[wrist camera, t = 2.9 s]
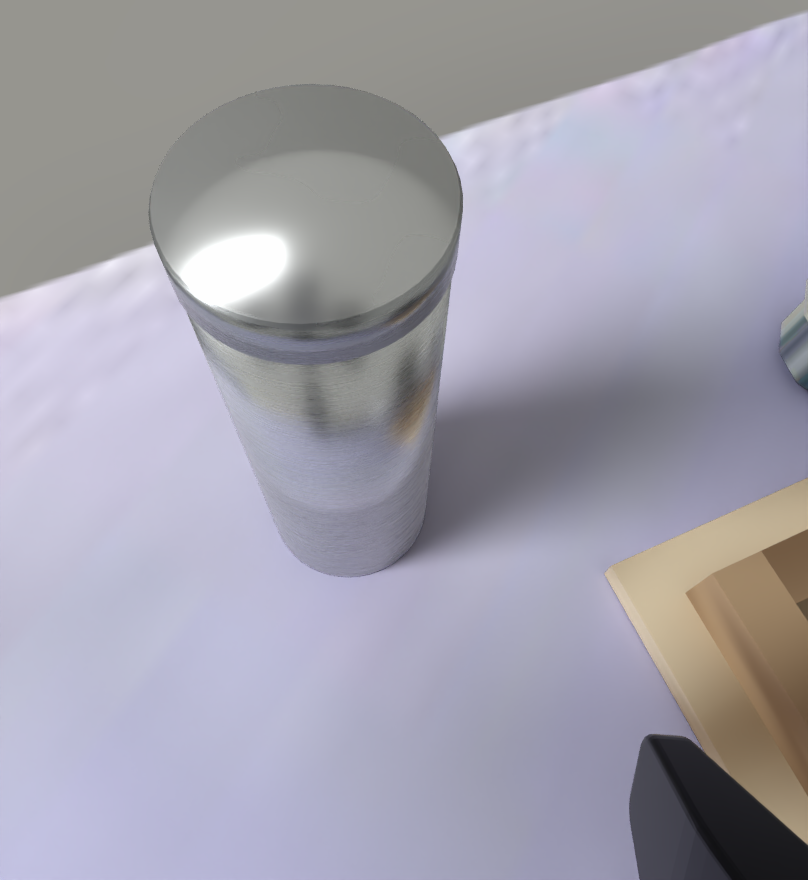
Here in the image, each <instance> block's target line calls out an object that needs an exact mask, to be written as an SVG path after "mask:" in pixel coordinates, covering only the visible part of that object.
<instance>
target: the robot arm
mask: <svg viewBox="0 0 808 880" xmlns="http://www.w3.org/2000/svg"><path fill="white" fill-rule="evenodd" d="M629 814H630V824H631V831H632V837H633V843H634V849H635V855H636V861H637V867H638V873H639V879H640V880H808V845H807V844H806V843H805V842H804V841H803V840H802V839H801V838H799V837H798V836H797V835H796V834H795V833H794V832H793V831H792V830H791V829H789V828H788V827H787V826H786V825H785V824H784V823H783V822H782V821H780V820H779V819H778V818H777V817H776V816H775V815H774V814H773V813H772V812H770V811H769V810H768V809H767V808H766V807H765V806H764V805H763V804H762V803H760V802H759V801H758V800H757V799H756V798H755V797H754V796H753V795H751V794H750V793H749V792H748V791H747V790H746V789H745V788H744V787H743V786H741V785H740V784H739V783H738V782H737V781H736V780H735V779H734V778H732V777H731V776H730V775H729V774H728V773H727V772H726V771H725V770H724V769H722V768H721V767H720V766H719V765H718V764H717V763H716V762H715V761H714V760H712V759H711V758H710V757H709V756H708V755H707V754H706V753H705V752H703V751H702V750H701V749H700V748H699V747H698V746H697V745H696V744H695V743H693V742H692V741H691V740H689V739H688V738H686V737H682V736H673V735H660V734H649V735H648V736H646V737H645V738H644V740H643V741H642V743H641V747H640V751H639V756H638V761H637V766H636V770H635V775H634V780H633V785H632V790H631V795H630V803H629Z"/></svg>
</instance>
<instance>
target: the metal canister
mask: <svg viewBox="0 0 808 880" xmlns="http://www.w3.org/2000/svg"><path fill="white" fill-rule="evenodd" d="M462 212H463V193H462V187H461V181H460V177H459V174H458V171H457V168H456V166H455V164H454V162H453V160H452V158H451V156H450V154H449V152H448V151H447V149H446V147H445V146H444V145H443V143H442V142H441V140H440V139H439V138H438V136H437V135H436V134H435V133H434V132H433V131H432V130H431V129H430V128H429V127H428V126H427V125H426V124H425V123H424V122H423V121H421V120H420V119H419V118H418V117H416V116H415V115H414V114H413V113H411V112H409V111H408V110H406V109H404V108H403V107H401V106H399V105H398V104H396V103H393V102H391V101H389V100H387V99H385V98H383V97H380V96H377V95H374V94H371V93H368V92H365V91H361V90H356V89H353V88H348V87H341V86H334V85H320V84H304V85H289V86H282V87H275V88H271V89H266V90H262V91H258V92H255V93H251V94H248V95H245V96H243V97H240V98H237V99H235V100H233V101H230V102H228V103H226V104H224V105H222V106H220V107H218V108H217V109H215V110H213V111H212V112H210V113H208V114H206V115H205V116H204V117H202V118H201V119H200V120H198V121H197V122H196V123H194V124H193V125H192V126H191V127H190V128H189V129H187V130H186V131H185V132H184V133H183V134H182V135H181V136H180V137H179V138H178V140H177V141H176V142H175V143H174V144H173V146H172V147H171V148H170V149H169V151H168V153H167V154H166V156H165V158H164V159H163V161H162V163H161V165H160V167H159V169H158V172H157V174H156V177H155V180H154V183H153V187H152V191H151V195H150V203H149V222H150V230H151V234H152V237H153V241H154V244H155V247H156V249H157V252H158V254H159V256H160V259H161V261H162V263H163V266H164V268H165V270H166V273H167V275H168V277H169V280H170V282H171V284H172V287H173V289H174V291H175V293H176V295H177V297H178V299H179V302H180V303H181V304H182V306H183V307H184V309H185V310H186V312H187V314H188V317H189V319H190V321H191V324H192V326H193V329H194V331H195V333H196V336H197V338H198V341H199V343H200V345H201V348H202V350H203V352H204V355H205V357H206V360H207V362H208V364H209V367H210V369H211V372H212V374H213V376H214V379H215V381H216V384H217V386H218V388H219V391H220V393H221V395H222V398H223V400H224V403H225V405H226V407H227V410H228V412H229V415H230V417H231V419H232V422H233V424H234V426H235V429H236V431H237V434H238V436H239V438H240V441H241V443H242V446H243V448H244V450H245V453H246V455H247V458H248V460H249V462H250V465H251V467H252V469H253V472H254V474H255V477H256V479H257V481H258V484H259V486H260V489H261V491H262V493H263V496H264V498H265V501H266V503H267V505H268V508H269V510H270V512H271V515H272V517H273V520H274V522H275V524H276V527H277V529H278V532H279V534H280V536H281V538H282V540H283V542H284V543H285V545H286V546H287V548H288V549H289V550H290V551H291V553H292V554H293V555H294V556H295V557H296V558H298V559H299V560H300V561H301V562H302V563H304V564H305V565H307V566H308V567H310V568H312V569H314V570H316V571H319V572H321V573H325V574H328V575H332V576H338V577H358V576H364V575H368V574H372V573H375V572H378V571H380V570H382V569H384V568H386V567H388V566H390V565H391V564H393V563H394V562H396V561H397V560H398V559H400V558H401V557H402V556H403V555H404V554H405V553H406V552H407V551H408V550H409V548H410V547H411V546H412V545H413V543H414V541H415V540H416V538H417V536H418V534H419V532H420V530H421V527H422V524H423V521H424V516H425V510H426V501H427V492H428V483H429V474H430V466H431V457H432V448H433V439H434V430H435V421H436V412H437V404H438V395H439V386H440V377H441V368H442V359H443V351H444V342H445V333H446V324H447V315H448V306H449V297H450V289H451V280H452V276H453V273H454V270H455V265H456V260H457V254H458V246H459V237H460V229H461V221H462Z"/></svg>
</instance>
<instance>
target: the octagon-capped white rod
mask: <svg viewBox="0 0 808 880" xmlns="http://www.w3.org/2000/svg"><path fill="white" fill-rule="evenodd" d="M779 353H780V355H781V357H782V358H783V360H784V362H785V363H786V365H787V367H788V368H789V370H790V372H791V374H792V375H793V377H794V379H795V380H796V382H797V383H798V384H800V385H801V386H803V387H804V388H805V389H807V390H808V279H807V280H806V291H805V299H804V301H803V302H802V303H801V304H800V305H799V306H798V307H797V308H796V309H795V310H794V311H793V312H792V313H791V314H790V315H789V316H788V317H787V318H786V319H785V320H784V321H783V322H782V323H781V333H780V344H779Z"/></svg>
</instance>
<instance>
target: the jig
mask: <svg viewBox="0 0 808 880" xmlns="http://www.w3.org/2000/svg"><path fill="white" fill-rule="evenodd" d="M604 574H605V576H606V578H607V579H608V581H609V583H610V585H611V586H612V588H613V590H614V592H615V594H616V595H617V597H618V599H619V601H620V602H621V604H622V606H623V608H624V610H625V611H626V613H627V615H628V617H629V618H630V620H631V622H632V624H633V625H634V627H635V629H636V631H637V633H638V634H639V636H640V638H641V640H642V641H643V643H644V645H645V647H646V649H647V650H648V652H649V654H650V656H651V657H652V659H653V661H654V663H655V665H656V666H657V668H658V670H659V672H660V673H661V675H662V677H663V679H664V680H665V682H666V684H667V686H668V688H669V689H670V691H671V693H672V695H673V696H674V698H675V700H676V702H677V704H678V705H679V707H680V709H681V711H682V712H683V714H684V716H685V718H686V720H687V721H688V723H689V725H690V727H691V728H692V730H693V732H694V734H695V735H696V737H697V739H698V741H699V743H700V744H701V746H702V748H703V750H704V751H705V753H706V754H707V755H708V756H709V757H710V758H711V759H712V760H714V761H715V762H716V763H717V764H718V765H719V766H720V767H721V768H722V769H724V770H725V771H726V772H727V773H728V774H729V775H730V776H731V777H732V778H734V779H735V780H736V781H737V782H738V783H739V784H740V785H741V786H743V787H744V788H745V789H746V790H747V791H748V792H749V793H750V794H751V795H753V796H754V797H755V798H756V799H757V800H758V801H759V802H760V803H762V804H763V805H764V806H765V807H766V808H767V809H768V810H769V811H770V812H772V813H773V814H774V815H775V816H776V817H777V818H778V819H779V820H780V821H782V822H783V823H784V824H785V825H786V826H787V827H788V828H789V829H791V830H792V831H793V832H794V833H795V834H796V835H797V836H798V837H799V838H801V839H802V840H803V841H804V842H805V843H806V844H807V845H808V478H806V479H804V480H802V481H799V482H797V483H795V484H793V485H790V486H788V487H786V488H784V489H781V490H779V491H777V492H775V493H773V494H770V495H768V496H766V497H764V498H761V499H759V500H757V501H755V502H753V503H750V504H748V505H746V506H744V507H741V508H739V509H737V510H735V511H732V512H730V513H728V514H726V515H724V516H721V517H719V518H717V519H715V520H712V521H710V522H708V523H706V524H703V525H701V526H699V527H697V528H695V529H692V530H690V531H688V532H686V533H683V534H681V535H679V536H677V537H674V538H672V539H670V540H668V541H666V542H663V543H661V544H659V545H657V546H654V547H652V548H650V549H648V550H645V551H643V552H641V553H639V554H637V555H634V556H632V557H630V558H628V559H625V560H623V561H621V562H619V563H616V564H614V565H612V566H611V567H610V568H609V569H608V570H607V571H606V572H605V573H604Z"/></svg>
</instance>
